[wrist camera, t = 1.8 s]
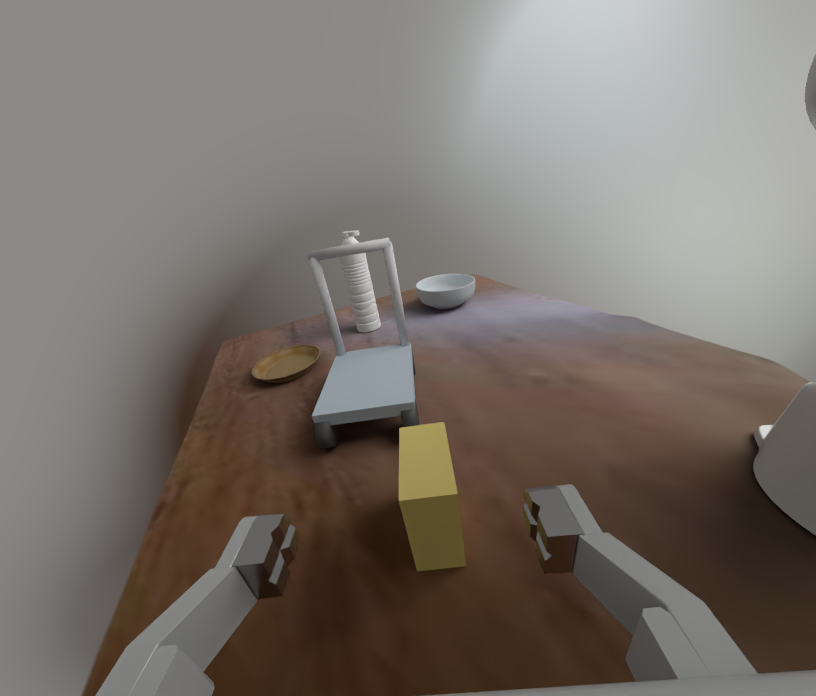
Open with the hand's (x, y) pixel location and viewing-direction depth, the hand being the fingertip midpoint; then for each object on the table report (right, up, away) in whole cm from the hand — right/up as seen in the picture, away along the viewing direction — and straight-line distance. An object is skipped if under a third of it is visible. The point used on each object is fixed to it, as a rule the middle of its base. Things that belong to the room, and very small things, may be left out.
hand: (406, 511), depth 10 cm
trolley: (-5, -4, +40) cm, 41 cm away
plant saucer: (-26, +1, +57) cm, 63 cm away
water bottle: (-10, +11, +70) cm, 71 cm away
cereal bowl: (+12, +18, +78) cm, 81 cm away
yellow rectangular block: (+3, -13, +20) cm, 24 cm away
